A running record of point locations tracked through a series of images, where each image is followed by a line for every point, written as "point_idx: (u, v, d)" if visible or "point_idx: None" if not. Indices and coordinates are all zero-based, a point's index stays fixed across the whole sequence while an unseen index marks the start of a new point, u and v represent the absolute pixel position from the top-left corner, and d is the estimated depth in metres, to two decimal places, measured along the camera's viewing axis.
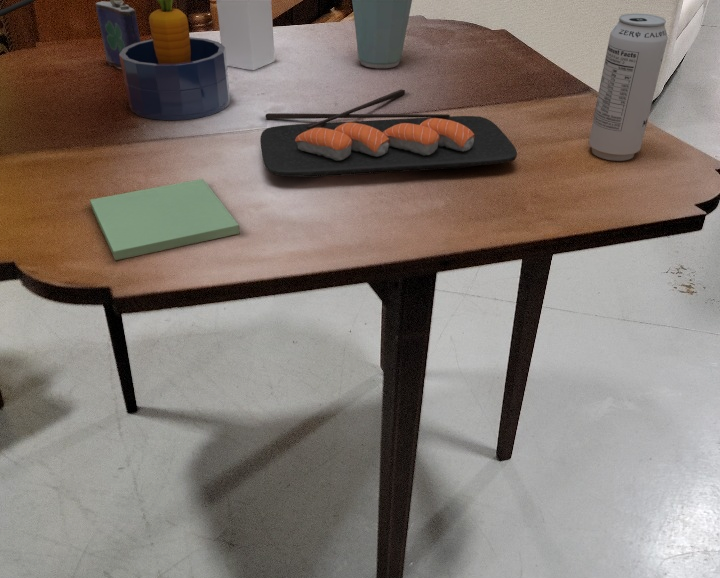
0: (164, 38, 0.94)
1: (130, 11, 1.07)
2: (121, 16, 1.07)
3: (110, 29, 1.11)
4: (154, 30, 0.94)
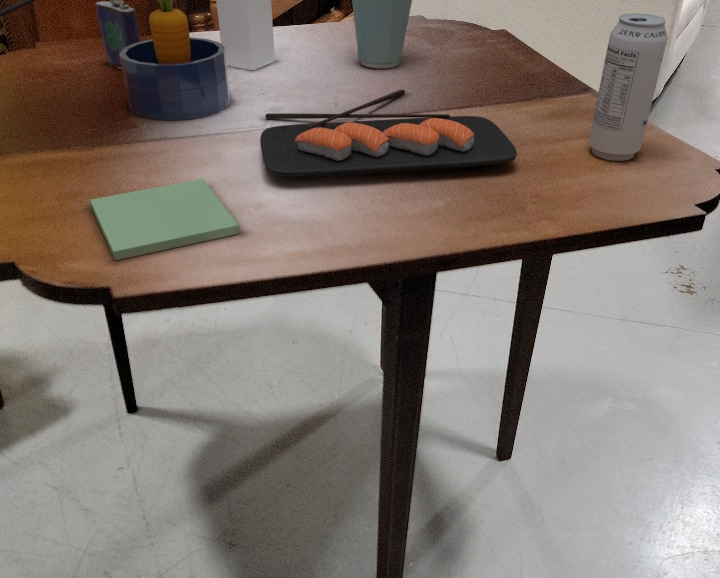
0: (164, 38, 0.94)
1: (130, 11, 1.07)
2: (121, 16, 1.07)
3: (110, 29, 1.11)
4: (154, 30, 0.94)
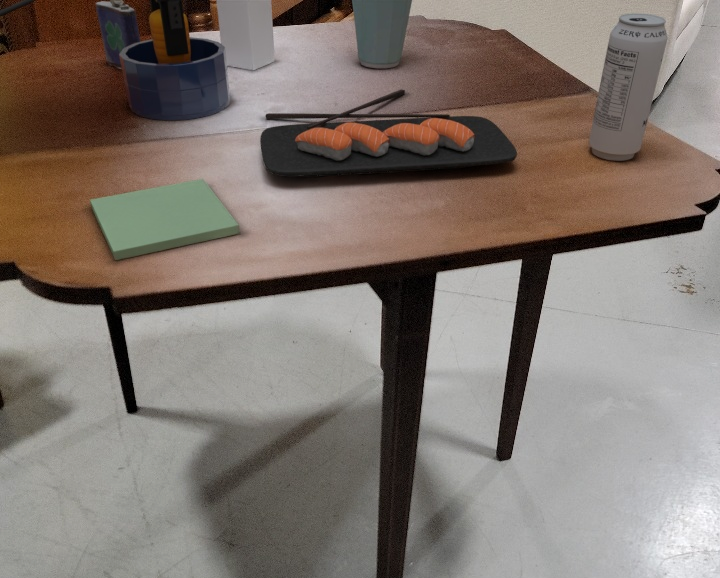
0: None
1: (130, 11, 1.07)
2: (121, 16, 1.07)
3: (110, 29, 1.11)
4: (154, 30, 0.94)
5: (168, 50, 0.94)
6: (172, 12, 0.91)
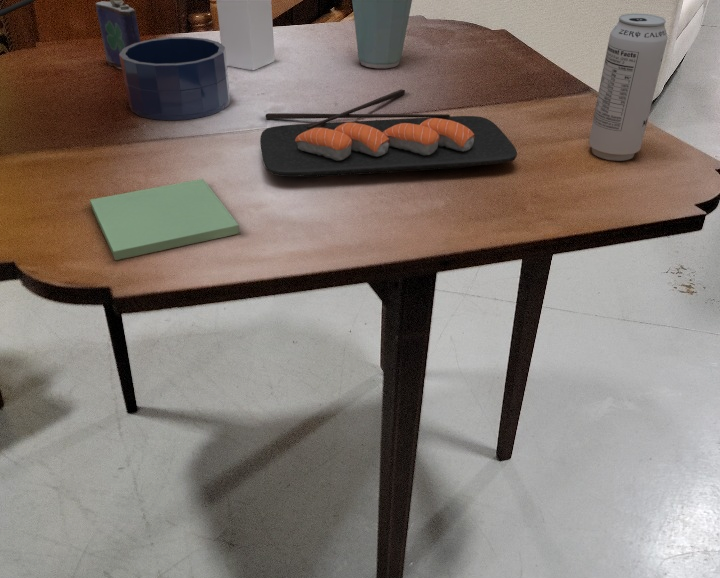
0: None
1: (130, 11, 1.07)
2: (121, 16, 1.07)
3: (110, 29, 1.11)
4: None
5: None
6: None
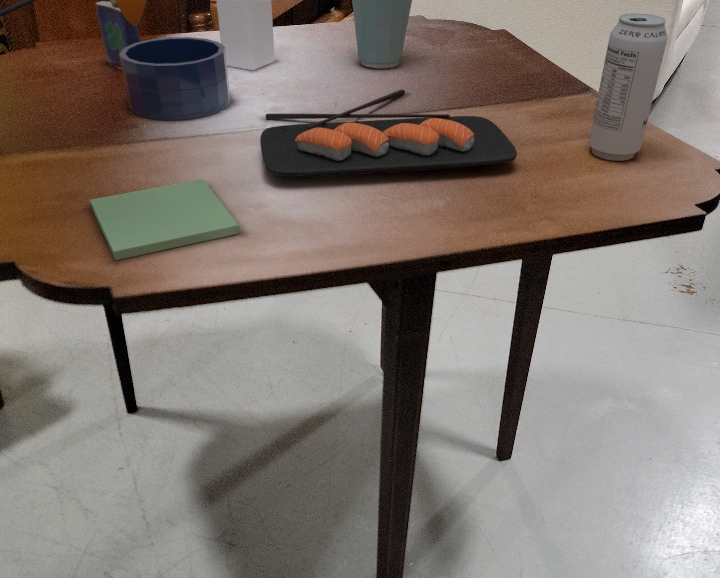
0: None
1: None
2: (121, 16, 1.07)
3: (110, 29, 1.11)
4: None
5: None
6: None
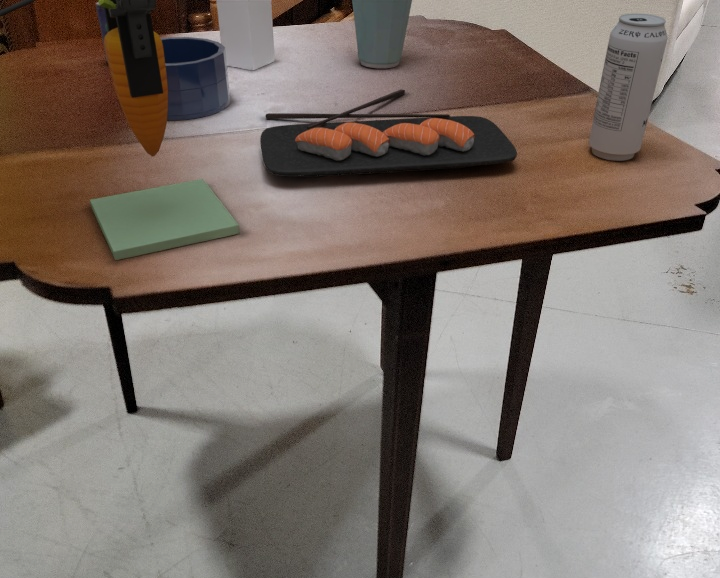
0: None
1: None
2: None
3: None
4: (111, 59, 0.62)
5: (132, 89, 0.62)
6: (136, 33, 0.59)
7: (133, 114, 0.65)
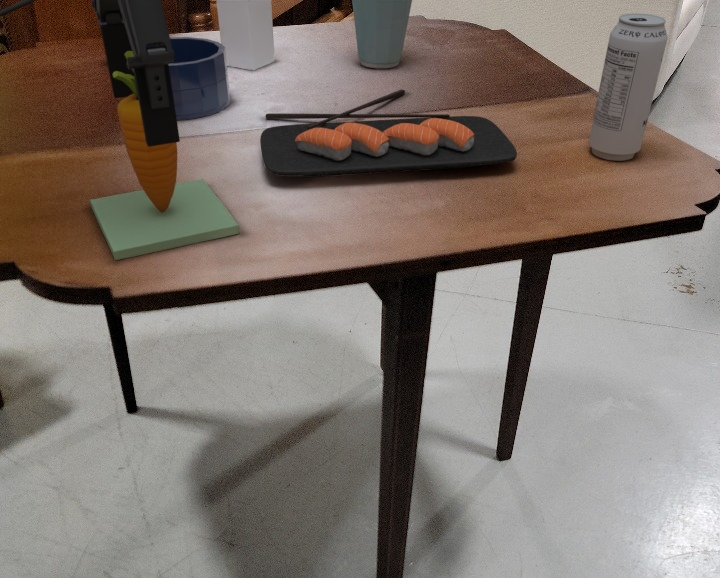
0: (139, 137, 0.66)
1: None
2: None
3: None
4: (124, 126, 0.66)
5: (148, 138, 0.61)
6: (153, 84, 0.58)
7: (144, 175, 0.69)
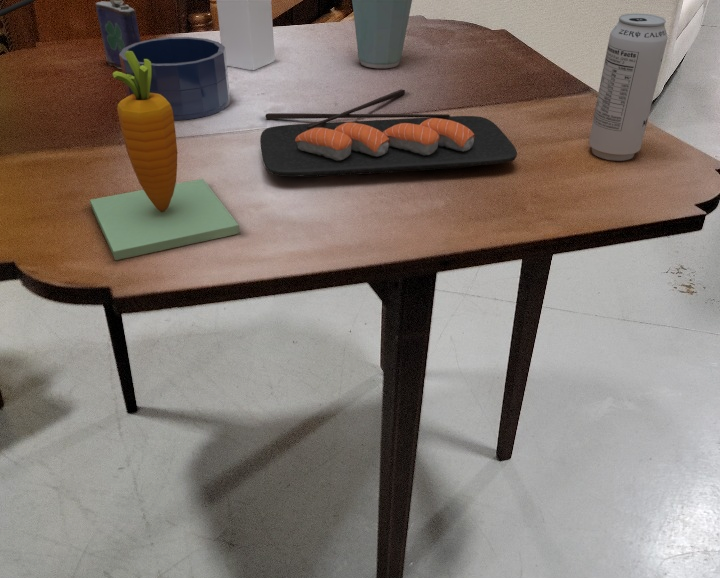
0: (139, 137, 0.66)
1: (130, 11, 1.07)
2: (121, 16, 1.07)
3: (110, 29, 1.11)
4: (124, 126, 0.66)
5: None
6: None
7: (144, 175, 0.69)
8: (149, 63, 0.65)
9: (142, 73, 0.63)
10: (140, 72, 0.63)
